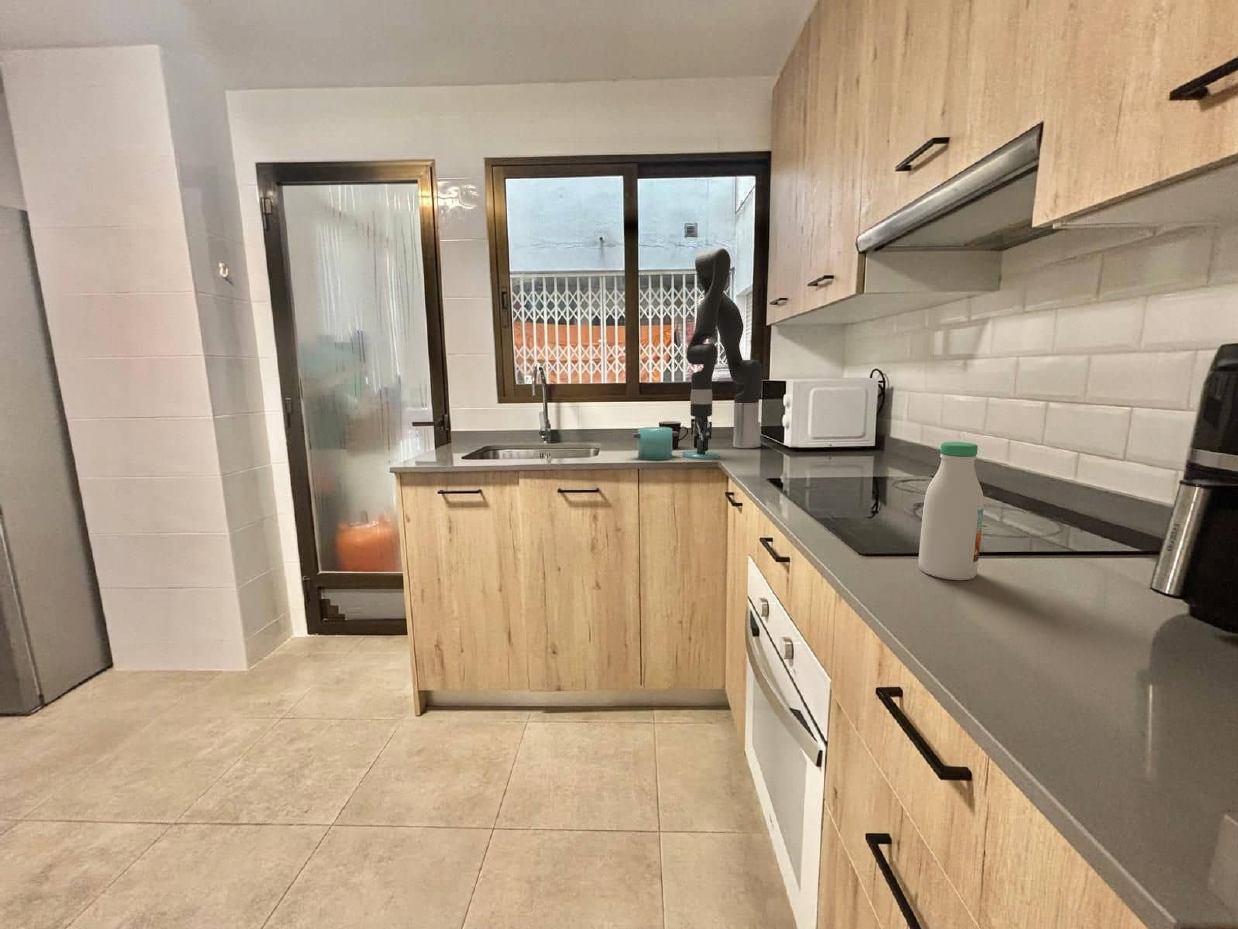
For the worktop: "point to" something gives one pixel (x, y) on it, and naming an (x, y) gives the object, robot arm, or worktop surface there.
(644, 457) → the pot
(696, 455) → the lid
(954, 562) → the milk bottle
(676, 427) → the coffee mug
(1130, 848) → the worktop surface
